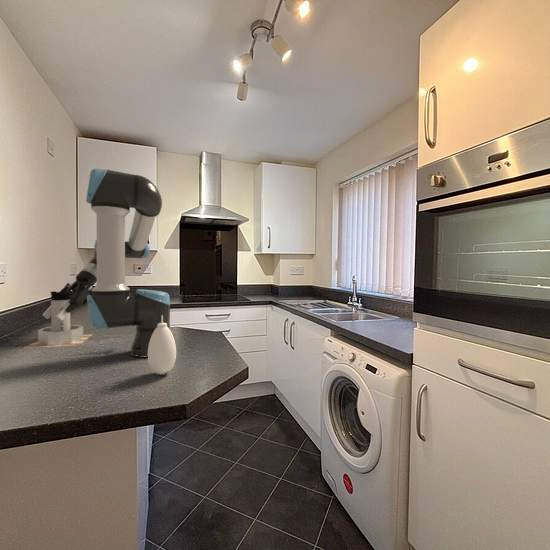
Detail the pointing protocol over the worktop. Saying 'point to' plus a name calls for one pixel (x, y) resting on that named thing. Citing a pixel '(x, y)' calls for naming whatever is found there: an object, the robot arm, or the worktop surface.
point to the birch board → (58, 345)
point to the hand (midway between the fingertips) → (52, 317)
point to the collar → (60, 336)
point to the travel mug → (57, 305)
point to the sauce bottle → (161, 349)
